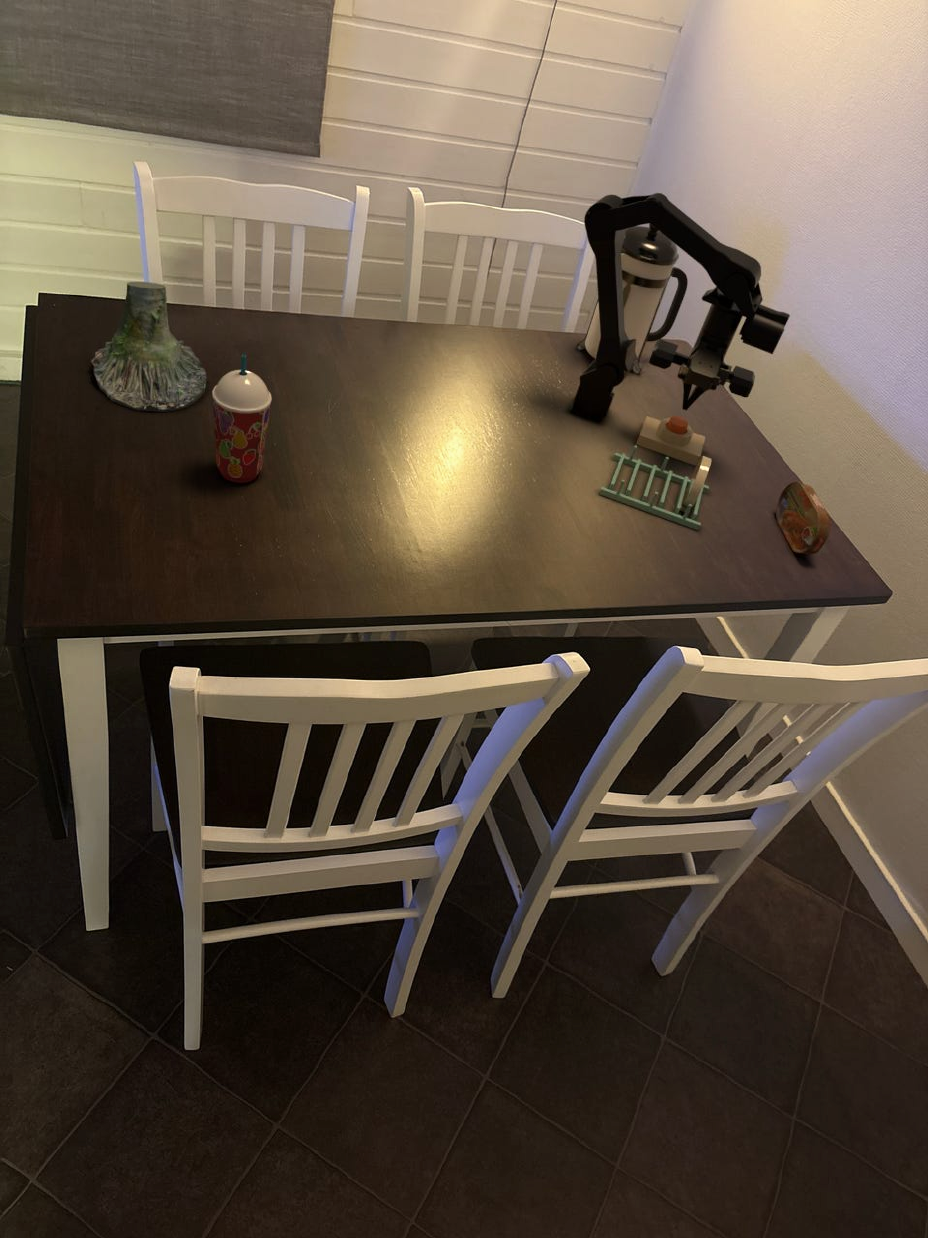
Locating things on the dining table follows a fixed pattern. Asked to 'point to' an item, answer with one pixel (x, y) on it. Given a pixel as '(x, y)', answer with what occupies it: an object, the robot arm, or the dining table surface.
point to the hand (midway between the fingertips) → (684, 408)
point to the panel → (671, 441)
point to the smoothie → (240, 423)
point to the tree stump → (148, 357)
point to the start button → (677, 425)
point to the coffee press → (643, 288)
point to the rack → (649, 507)
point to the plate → (696, 483)
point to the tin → (802, 518)
